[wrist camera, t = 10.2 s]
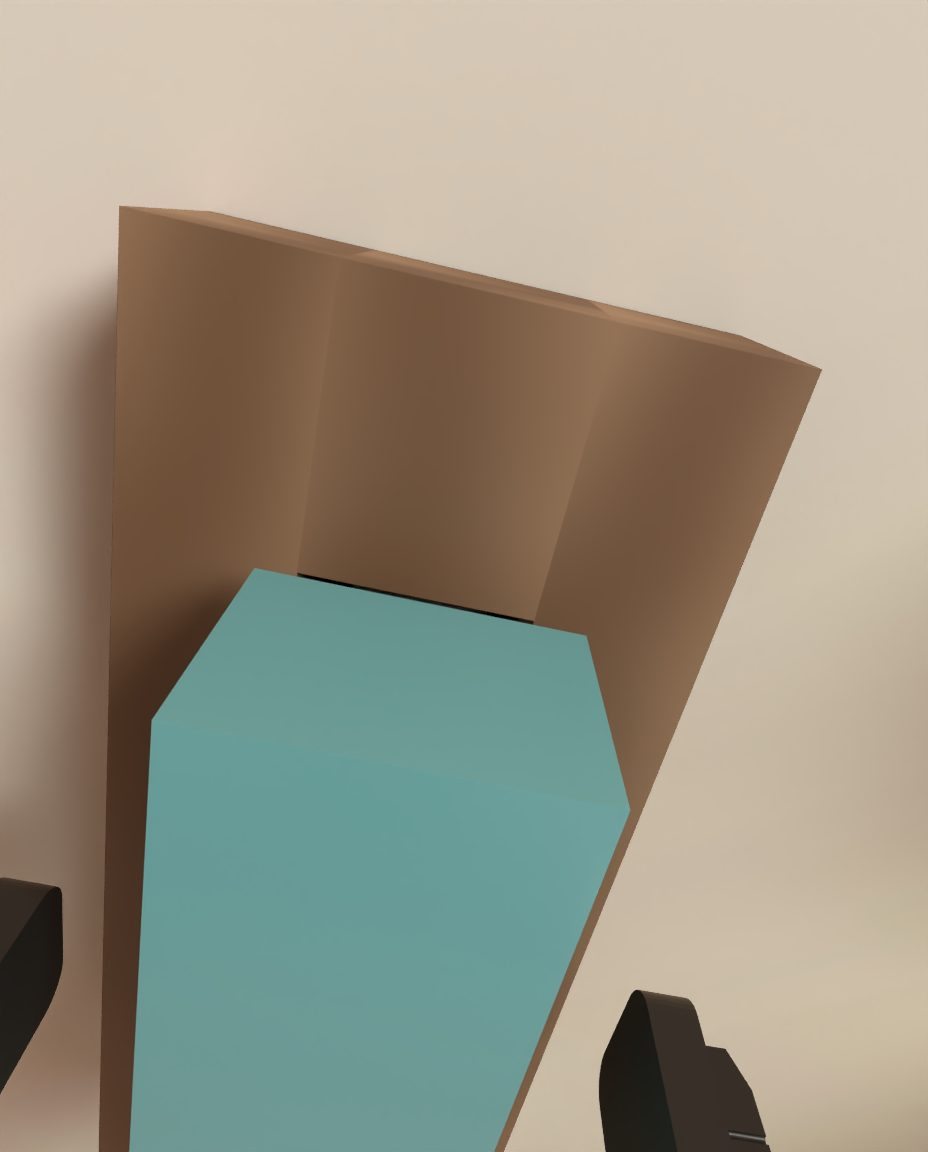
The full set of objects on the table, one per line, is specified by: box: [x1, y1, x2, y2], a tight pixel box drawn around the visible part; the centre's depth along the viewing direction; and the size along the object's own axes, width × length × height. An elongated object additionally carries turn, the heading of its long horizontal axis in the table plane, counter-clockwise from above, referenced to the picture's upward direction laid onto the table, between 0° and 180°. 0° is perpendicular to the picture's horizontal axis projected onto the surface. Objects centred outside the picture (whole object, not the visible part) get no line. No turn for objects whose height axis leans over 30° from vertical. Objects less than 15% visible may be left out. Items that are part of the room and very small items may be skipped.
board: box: [99, 206, 822, 1152], centre depth 13 cm, size 8×18×3 cm, turn 168°
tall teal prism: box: [129, 568, 630, 1152], centre depth 12 cm, size 4×11×7 cm, turn 168°
